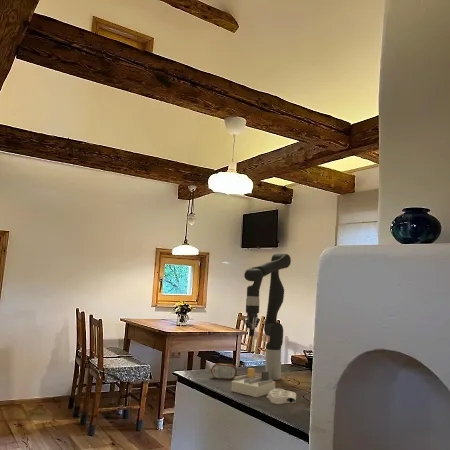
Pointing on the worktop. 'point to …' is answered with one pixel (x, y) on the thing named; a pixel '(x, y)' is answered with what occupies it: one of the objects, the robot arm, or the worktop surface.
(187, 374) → the worktop surface
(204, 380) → the worktop surface
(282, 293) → the robot arm
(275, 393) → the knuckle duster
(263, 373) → the toggle
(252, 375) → the breaker toggle
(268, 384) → the breaker housing
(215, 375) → the tin
